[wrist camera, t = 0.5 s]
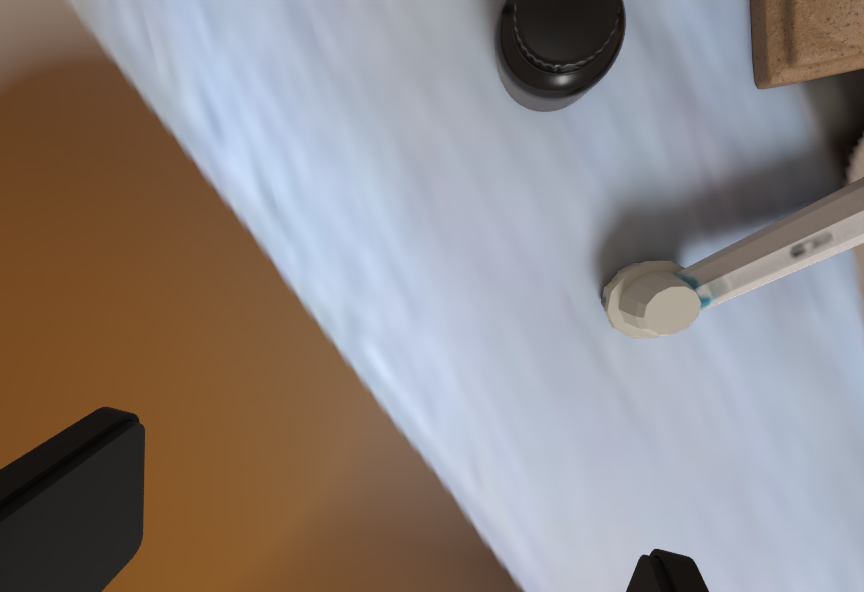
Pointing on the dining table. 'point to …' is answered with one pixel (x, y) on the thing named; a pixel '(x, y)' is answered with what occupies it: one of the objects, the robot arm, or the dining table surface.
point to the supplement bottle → (556, 48)
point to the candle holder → (805, 39)
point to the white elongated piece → (732, 267)
